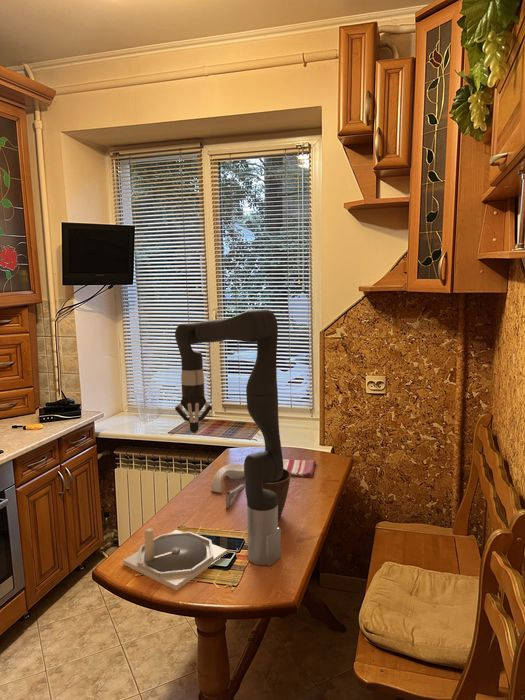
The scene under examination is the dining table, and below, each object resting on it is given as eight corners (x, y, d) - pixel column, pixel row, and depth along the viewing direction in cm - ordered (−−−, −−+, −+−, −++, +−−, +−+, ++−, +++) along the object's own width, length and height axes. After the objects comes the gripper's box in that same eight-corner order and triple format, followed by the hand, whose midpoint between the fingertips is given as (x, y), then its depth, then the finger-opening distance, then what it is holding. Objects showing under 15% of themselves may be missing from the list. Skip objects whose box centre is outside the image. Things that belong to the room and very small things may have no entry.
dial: (193, 533, 169) (192, 504, 167) (216, 560, 153) (215, 529, 152) (137, 548, 160) (135, 518, 158) (156, 579, 144) (154, 546, 142)
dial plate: (227, 554, 159) (227, 545, 159) (176, 590, 142) (175, 580, 141) (176, 533, 172) (175, 525, 172) (123, 564, 154) (123, 555, 154)
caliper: (228, 509, 189) (228, 493, 188) (225, 509, 190) (225, 492, 189) (244, 486, 209) (244, 471, 208) (242, 486, 209) (241, 471, 208)
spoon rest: (230, 469, 227) (230, 453, 226) (255, 473, 222) (254, 457, 221) (203, 490, 206) (202, 473, 204) (229, 495, 201) (229, 478, 200)
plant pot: (254, 530, 174) (253, 485, 171) (243, 510, 188) (243, 468, 185) (296, 524, 178) (296, 480, 175) (283, 505, 192) (282, 464, 189)
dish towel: (312, 479, 216) (312, 473, 216) (257, 475, 220) (257, 469, 220) (315, 464, 233) (315, 458, 232) (264, 461, 237) (264, 455, 236)
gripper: (171, 385, 169) (173, 436, 171) (212, 383, 170) (213, 434, 172) (173, 380, 176) (175, 430, 179) (212, 379, 178) (214, 428, 180)
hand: (194, 432), depth 175 cm, fingers closed
